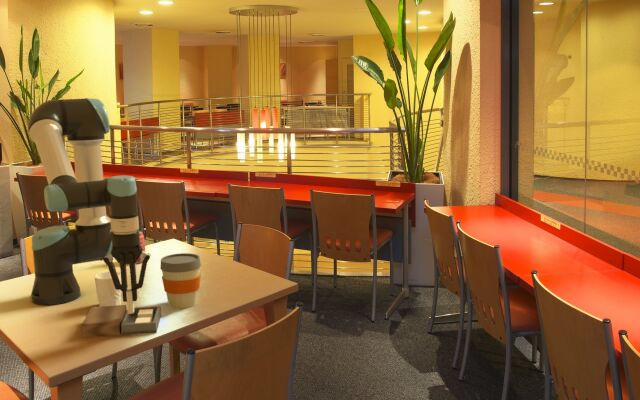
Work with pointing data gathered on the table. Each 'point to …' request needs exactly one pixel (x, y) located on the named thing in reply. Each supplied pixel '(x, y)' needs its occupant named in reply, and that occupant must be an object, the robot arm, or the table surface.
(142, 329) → the box
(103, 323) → the walnut block
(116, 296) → the white cup
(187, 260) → the reusable coffee cup
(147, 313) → the cream tile
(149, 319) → the cream tile
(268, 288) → the table surface
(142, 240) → the soda can
